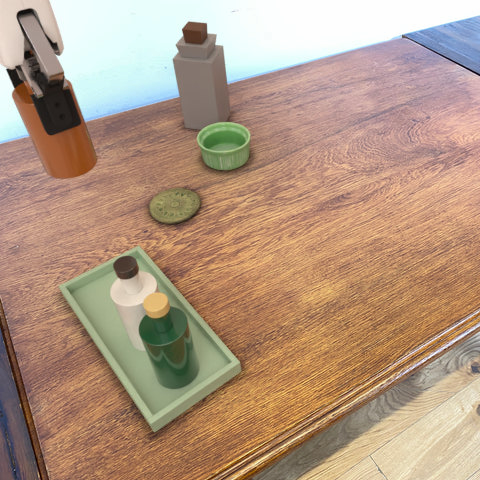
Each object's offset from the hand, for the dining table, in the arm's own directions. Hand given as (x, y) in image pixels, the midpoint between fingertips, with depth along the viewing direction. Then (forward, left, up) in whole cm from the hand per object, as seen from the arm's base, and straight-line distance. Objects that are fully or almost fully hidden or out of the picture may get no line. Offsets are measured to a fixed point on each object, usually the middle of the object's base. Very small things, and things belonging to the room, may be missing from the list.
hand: (51, 113), depth 49 cm
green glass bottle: (+16, -1, -26) cm, 31 cm away
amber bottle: (0, 0, -6) cm, 6 cm away
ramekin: (-16, +27, -27) cm, 42 cm away
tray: (+8, -1, -27) cm, 28 cm away
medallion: (-10, +14, -27) cm, 32 cm away
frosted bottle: (+9, -1, -26) cm, 28 cm away
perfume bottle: (-28, +31, -27) cm, 50 cm away
